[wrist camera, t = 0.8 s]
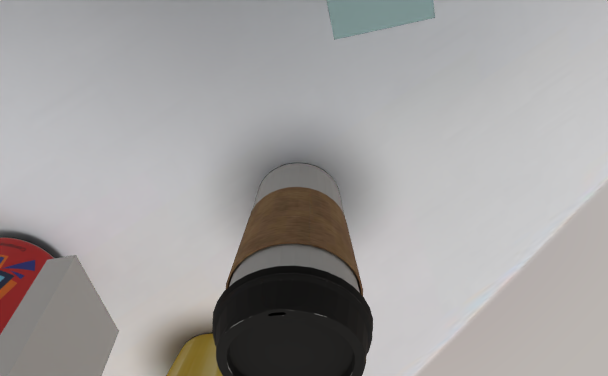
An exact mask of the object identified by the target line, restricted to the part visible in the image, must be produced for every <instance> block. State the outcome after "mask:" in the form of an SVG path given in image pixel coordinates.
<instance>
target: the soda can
mask: <svg viewBox="0 0 608 376" xmlns="http://www.w3.org/2000/svg"><path fill="white" fill-rule="evenodd" d="M49 259H55V258H54V257H53V256H51V255H50V254H49V253H48V252H46V251H45V250H43V249H42V248H40V247H38V246H36V245H34V244H32V243H29V242H27V241H24V240H20V239H15V238H7V237H0V335H1V333H2V331H3V330H4V328H5V327H6V325H7V323H8V322H9V320H10V319H11V317H12V315H13V314H14V312H15V311H16V309H17V307H18V306H19V304H20V303H21V301H22V299H23V298H24V296H25V295H26V293H27V291H28V290H29V288H30V287H31V285H32V283H33V282H34V280H35V279H36V277H37V275H38V274H39V272H40V271H41V269H42V267H43V266H44V264H45V263H46V261H47V260H49Z"/></svg>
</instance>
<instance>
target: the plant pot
mask: <svg viewBox="0 0 608 376" xmlns="http://www.w3.org/2000/svg"><path fill="white" fill-rule="evenodd" d="M166 376H223V375H222V373H221V372H220V370H219V368H218V364H217V361H216V346H215V343H214V338H213V333H210V334H203V335H199V336H196V337H194V338H192V339H191V340H189V341H188V342H187V343H186V344H185V345H184V346H183V347H182V349H181V351H180V353H179V354H178V356H177V358H176V360H175V362H174V363H173V365H172V367H171V368H170V370H169V372H168V374H167V375H166Z"/></svg>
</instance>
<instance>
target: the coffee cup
mask: <svg viewBox="0 0 608 376" xmlns="http://www.w3.org/2000/svg"><path fill="white" fill-rule="evenodd" d="M372 331H373V318H372V314H371V311H370V307H369V306H368V304H367V302H366V301H365V299H364V297H363V288H362V284H361V280H360V276H359V272H358V268H357V264H356V260H355V256H354V252H353V248H352V243H351V239H350V235H349V231H348V227H347V223H346V220H345V216H344V212H343V207H342V202H341V197H340V193H339V190H338V187H337V185H336V183H335V181H334V180H333V179H332V177H331V176H330V175H329V174H328V173H326V172H325V171H324V170H322V169H320V168H318V167H316V166H313V165H310V164H304V163H291V164H287V165H283V166H281V167H278V168H276V169H275V170H273V171H272V172H270V173H269V174H268V175H267V176H266V177H265V178H264V180H263V181H262V183H261V185H260V187H259V190H258V193H257V196H256V200H255V203H254V206H253V210H252V212H251V215H250V217H249V220H248V223H247V226H246V229H245V232H244V234H243V237H242V240H241V243H240V246H239V249H238V252H237V254H236V257H235V260H234V263H233V266H232V269H231V272H230V274H229V277H228V280H227V283H226V290H225V291H224V292H223V294H222V295H221V297H220V298H219V300H218V301H217V304H216V307H215V309H214V312H213V330H212V333H213V338H214V343H215V346H216V361H217V364H218V368H219V370H220V372H221V373H222V375H223V376H362V374H363V371H364V368H365V364H366V355H367V353H368V351H369V348H370V345H371V341H372Z"/></svg>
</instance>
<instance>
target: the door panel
mask: <svg viewBox="0 0 608 376" xmlns="http://www.w3.org/2000/svg"><path fill="white" fill-rule="evenodd" d="M327 5H328V10H329V15H330V20H331V25H332V30H333V35H334V40H335V39H340V38H345V37H349V36H354V35H358V34H363V33H368V32H372V31H377V30H381V29H386V28H390V27H395V26H400V25H404V24H409V23H413V22H418V21H422V20H427V19H432V18H435V14H434V3H433V0H327Z"/></svg>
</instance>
